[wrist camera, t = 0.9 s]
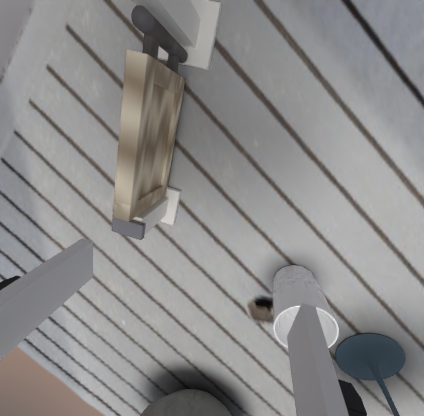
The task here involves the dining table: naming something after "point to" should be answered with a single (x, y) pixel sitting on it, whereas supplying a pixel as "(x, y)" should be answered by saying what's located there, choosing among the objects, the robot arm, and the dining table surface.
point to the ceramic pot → (187, 405)
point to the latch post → (150, 216)
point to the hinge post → (188, 27)
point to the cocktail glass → (371, 359)
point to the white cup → (299, 302)
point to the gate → (147, 118)
